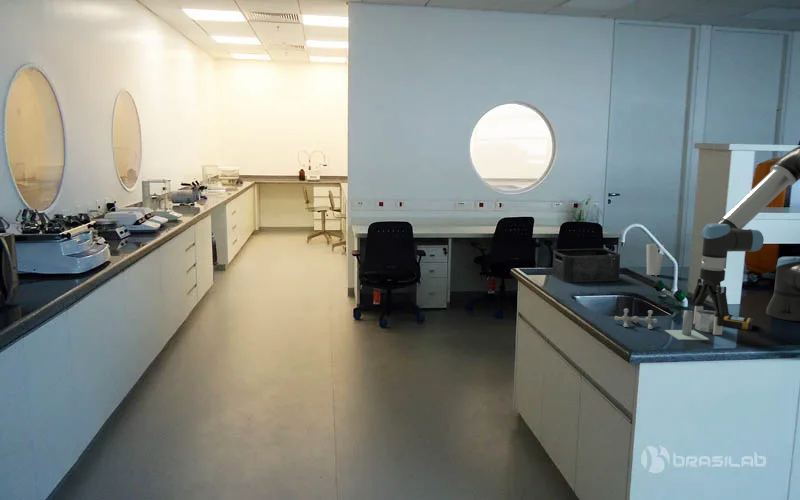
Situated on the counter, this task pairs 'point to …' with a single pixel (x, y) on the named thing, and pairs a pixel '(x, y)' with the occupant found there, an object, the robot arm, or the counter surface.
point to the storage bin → (586, 265)
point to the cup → (653, 260)
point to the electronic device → (738, 322)
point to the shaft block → (687, 329)
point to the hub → (705, 320)
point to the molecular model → (636, 319)
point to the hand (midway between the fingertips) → (707, 329)
